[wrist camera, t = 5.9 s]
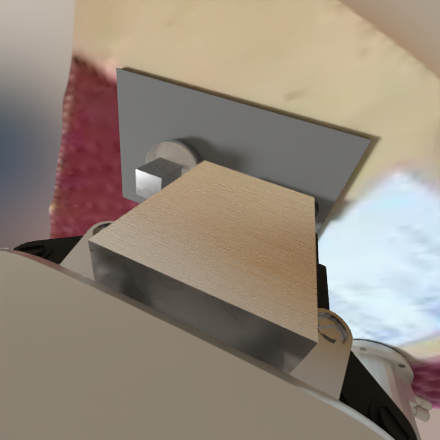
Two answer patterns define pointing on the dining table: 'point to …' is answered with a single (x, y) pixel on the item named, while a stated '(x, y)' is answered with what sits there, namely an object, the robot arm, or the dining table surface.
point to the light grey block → (221, 261)
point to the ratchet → (168, 167)
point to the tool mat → (233, 139)
